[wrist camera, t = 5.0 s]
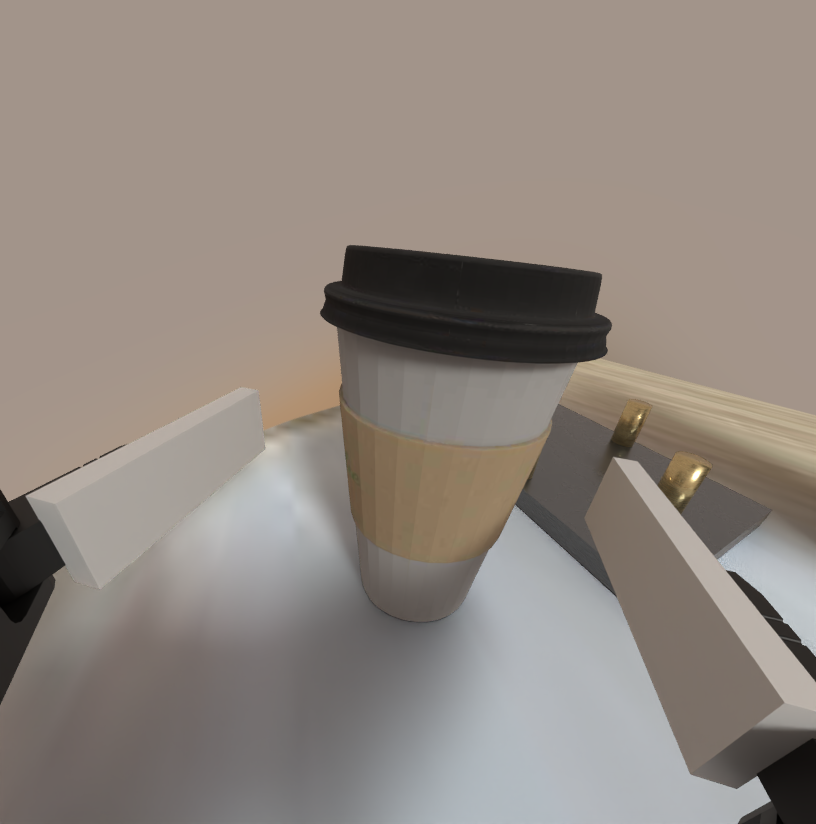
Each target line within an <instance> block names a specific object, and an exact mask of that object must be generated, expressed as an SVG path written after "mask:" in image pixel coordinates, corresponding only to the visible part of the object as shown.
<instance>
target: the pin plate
mask: <svg viewBox="0 0 816 824" xmlns="http://www.w3.org/2000/svg"><path fill="white" fill-rule="evenodd" d="M651 408H652V405H650V404H649V403H647V402H644V401H641V400H636V399H629V400H628V402H627V404H626V406H625V409H624V411H623V413H622V415H621V417H620V420H619V422H618V424H617V426H616V428H615V431H612V430H610V429H608V428H606V427H604V426H602V425H600V424H598V423H596V422H594V421H592V420H590V419H588V418H586V417H584V416H582V415H580V414H578V413H576V412H574V411H572V410H570V409H568V408H566V407H563V406H561V405H559V404H558V405H557V407H556V409H555V412H554V414H553V416H552V418H551V419H552V426H551V431H550V434H549V436H548V438H547V440H546V442H545V444H544V446H543V448H542V450H541V452H540V454H539V456H538V458H537V460H536V462H535V464H534V467H533V469H532V471H531V473H530V475H529V477H528V479H527V481H526V483H525V485H524V487H523V489H522V491H521V493H520V495H519V497H518V499H517V501H516V503H515V504H516V505H517V506H518V507H519V508H520V509H521V510H522V511H524V512H525V513H526V514H527V515H528V516H529V517H530V518H531V519H532V520H533V521H535V522H536V523H537V524H538V525H539V526H540V527H541V528H542V529H543V530H544V531H546V532H547V533H548V534H549V535H550V536H551V537H552V538H553V539H554V540H555V541H557V542H558V543H559V544H560V545H561V546H562V547H563V548H564V549H565V550H566V551H568V552H569V553H570V554H571V555H572V556H573V557H574V558H575V559H576V560H577V561H578V562H580V563H581V564H582V565H583V566H584V567H585V568H586V569H587V570H588V571H589V572H591V573H592V574H593V575H594V576H595V577H596V578H597V579H598V580H599V581H600V582H602V583H603V584H604V585H605V586H606V587H607V588H608V589H609V590H610V591H611V592H613V593H614V594H615V595H616V593H615V591H614V589H613V586H612V584H611V581H610V579H609V576H608V574H607V572H606V569H605V567H604V564H603V562H602V560H601V557H600V555H599V552H598V550H597V547H596V545H595V543H594V540H593V538H592V535H591V533H590V531H589V528H588V526H587V523H586V521H585V518H584V517H585V515H586V513H587V511H588V509H589V507H590V505H591V503H592V500H593V498H594V496H595V494H596V492H597V490H598V488H599V486H600V484H601V481H602V479H603V477H604V475H605V473H606V471H607V469H608V467H609V464H610V462H611V460H612V458H613V457H616V458H622V459H627V460H632V461H638V463H639V464H640V465H641V466H642V467H643V469H644V470H645V471H646V472H647V474H648V475H649V476H650V477H651V479H652V480H653V481H654V482H655V484H656V485H657V486H658V487H659V489H660V490H661V491H662V492H663V493H664V495H665V496H666V497H667V498H668V500H669V501H670V502H671V503H672V505H673V506H674V507H675V508H676V510H677V511H678V512H679V513H680V515H681V516H682V517H683V518H684V519H685V521H686V522H687V523H688V524H689V526H690V527H691V528H692V529H693V531H694V532H695V533H696V534H697V536H698V537H699V538H700V539H701V541H702V542H703V543H704V544H705V545H706V547H707V548H708V549H709V550H710V552H711V553H712V554H713V555H714V557H715V558H716V559H718V558H720V557H721V556H722V555H724V554H725V553H726V552H727V551H729V550H730V549H731V548H732V547H734V546H735V545H736V544H737V543H739V542H740V541H741V540H742V539H744V538H745V537H746V536H747V535H749V534H750V533H751V532H752V531H754V530H755V529H756V528H757V527H759V526H760V525H761V524H762V522H763V521H764V520H765V519H766V517H767V516H768V515H769V514H770V513H771V511H772V510H771V509H769V508H767V507H765V506H763V505H761V504H759V503H757V502H755V501H753V500H751V499H749V498H747V497H745V496H743V495H741V494H739V493H737V492H735V491H733V490H731V489H729V488H727V487H725V486H723V485H721V484H719V483H717V482H715V481H713V480H711V479H709V478H707V477H706V476H707V474H708V473H709V471H710V470H711V468H712V464H711V463H710V462H708V461H707V460H705V459H704V458H702V457H700V456H697V455H695V454H692V453H688V452H683V451H678V452H676V453H675V455H674V457H673V459H672V460H670V459H668V458H666V457H664V456H662V455H660V454H658V453H656V452H654V451H652V450H650V449H648V448H646V447H644V446H642V445H640V444H638V443H636V442H635V441H636V439H637V436H638V434H639V432H640V430H641V428H642V426H643V424H644V422H645V420H646V418H647V416H648V414H649V412H650V410H651Z"/></svg>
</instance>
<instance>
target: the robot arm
mask: <svg viewBox="0 0 816 824" xmlns="http://www.w3.org/2000/svg"><path fill="white" fill-rule="evenodd" d="M264 450H265V440H264V432H263V423H262V416H261V407H260V399H259V391H258V390H254V389H249V388H244V387H240V388H238V389H236V390H234V391H233V392H230V393H228V394H226V395H224V396H222V397H220V398H219V399H216V400H214V401H212V402H211V403H208V404H207V405H205V406H203V407H201V408H199V409H197V410H195V411H193V412H191V413H189V414H187V415H185V416H183V417H181V418H179V419H177V420H175V421H173V422H171V423H169V424H167V425H165V426H163V427H161V428H159V429H157V430H155V431H153V432H151V433H149V434H147V435H145V436H143V437H141V438H139V439H137V440H135V441H133V442H131V443H129V444H127V445H123V446H120V447H118V448H116V449H114V450H112V451H110V452H108V453H106V454H104V455H102V456H100V458H99V459H94V460H92V461H90V462H88V463H86V464H84V465H83V467H78V468H76V469H74V470H72V471H70V472H68V473H66V474H64V475H62V476H60V477H58V478H56V479H54V480H52V481H50V482H48V483H46V484H44V485H42V486H40V487H38V488H36V489H34V490H32V491H30V492H28V493H26V494H24V495H22V496H20V497H18V498H16V499H14V500H11V501H9V502H8V501H7V500H6V498H5V496H4V495H3V493H2V491H1V490H0V704H1V702H2V700H3V698H4V696H5V694H6V691H7V689H8V687H9V685H10V683H11V681H12V678H13V676H14V674H15V672H16V670H17V667H18V665H19V663H20V661H21V659H22V657H23V654H24V652H25V650H26V648H27V646H28V644H29V641H30V639H31V637H32V635H33V633H34V631H35V628H36V626H37V624H38V622H39V620H40V618H41V615H42V613H43V611H44V609H45V607H46V605H47V602H48V600H49V598H50V596H51V594H52V592H53V589H54V586H55V579H54V577H53V575H52V574H54V573H55V572H56V571H58V570H59V569H61V568H62V567H63V566H66V568H67V570H68V572H69V573H70V575H71V577H72V579H73V580H74V582H76V583H80V584H83V585H86V586H89V587H92V588H96V589H99V590H100V589H102V588H103V587H104V586H105V585H106V584H107V583H109V582H110V581H111V580H112V579H113V578H115V577H116V576H117V575H118V574H119V573H120V572H122V571H123V570H124V569H125V568H126V567H127V566H129V565H130V564H131V563H132V562H133V561H134V560H136V559H137V558H138V557H139V556H140V555H142V554H143V553H144V552H145V551H146V550H147V549H149V548H150V547H151V546H152V545H153V544H154V543H156V542H157V541H158V540H159V539H160V538H162V537H163V536H164V535H165V534H166V533H167V532H169V531H170V530H171V529H172V528H173V527H174V526H176V525H177V524H178V523H179V522H180V521H181V520H183V519H184V518H185V517H186V516H187V515H189V514H190V513H191V512H192V511H193V510H194V509H196V508H197V507H198V506H199V505H200V504H201V503H203V502H204V501H205V500H206V499H207V498H209V497H210V496H211V495H212V494H213V493H214V492H216V491H217V490H218V489H219V488H220V487H221V486H223V485H224V484H225V483H226V482H227V481H228V480H230V479H231V478H232V477H233V476H234V475H236V474H237V473H238V472H239V471H240V470H241V469H243V468H244V467H245V466H246V465H247V464H248V463H250V462H251V461H252V460H253V459H254V458H255V457H257V456H258V455H259V454H260V453H261V452H263V451H264ZM584 518H585V521H586V523H587V526H588V528H589V531H590V533H591V535H592V538H593V540H594V543H595V545H596V547H597V550H598V552H599V555H600V557H601V560H602V562H603V564H604V567H605V569H606V572H607V574H608V576H609V579H610V581H611V584H612V586H613V589H614V591H615V593H616V596H617V598H618V601H619V603H620V605H621V608H622V610H623V613H624V615H625V617H626V620H627V622H628V625H629V627H630V630H631V632H632V634H633V637H634V639H635V642H636V644H637V646H638V649H639V651H640V654H641V656H642V659H643V661H644V663H645V666H646V668H647V671H648V673H649V675H650V678H651V680H652V683H653V685H654V688H655V690H656V692H657V695H658V697H659V700H660V702H661V704H662V707H663V709H664V712H665V714H666V717H667V719H668V721H669V724H670V726H671V729H672V731H673V733H674V736H675V738H676V741H677V743H678V745H679V748H680V750H681V753H682V755H683V758H684V760H685V762H686V765H687V767H688V770H689V772H690V774H691V775H694V776H697V777H700V778H704V779H707V780H710V781H713V782H716V783H720V784H723V785H726V786H729V787H732V788H736V789H737V788H739V787H741V786H742V785H744V784H745V783H747V782H749V781H750V780H752V779H753V778H755V777H756V776H758V777H759V779H760V781H761V783H762V785H763V787H764V789H765V790H766V792H767V794H768V796H769V798H770V800H771V802H769V803H767V804H765V805H763V806H762V807H760V808H758V809H756V810H754V811H753V812H751V813H749V814H747V815H745V816H744V817H742V818H741V819H740V821H739V823H738V824H816V657H815V656H814V654H813V653H812V652H811V651H810V650H809V649H808V647H807V646H804V645H802V644H801V639H800V638H799V637H798V636H797V635H796V633H795V632H794V631H793V630H792V629H791V628H790V626H789V625H788V624H785V623H783V618H782V617H781V616H780V615H779V614H778V612H777V611H776V610H775V609H774V608H773V607H772V605H771V604H770V603H769V602H768V601H767V600H766V598H765V597H764V596H763V595H762V594H761V593H760V592H758V591H757V590H756V589H755V588H754V587H752V586H751V585H750V584H749V583H748V582H746V581H745V580H744V579H743V578H742V577H740V576H739V575H738V574H737V573H735V572H732V571H727V570H725V569H724V568H723V567H722V565H721V564H720V563H719V562H718V560H717V559H716V558H715V557H714V555H713V554H712V553H711V552H710V550H709V549H708V548H707V547H706V545H705V544H704V543H703V542H702V541H701V539H700V538H699V537H698V536H697V534H696V533H695V532H694V531H693V529H692V528H691V527H690V526H689V524H688V523H687V522H686V521H685V519H684V518H683V517H682V516H681V515H680V513H679V512H678V511H677V510H676V508H675V507H674V506H673V505H672V503H671V502H670V501H669V500H668V498H667V497H666V496H665V495H664V493H663V492H662V491H661V490H660V489H659V487H658V486H657V485H656V484H655V482H654V481H653V480H652V479H651V477H650V476H649V475H648V474H647V472H646V471H645V470H644V469H643V467H642V466H641V465H640V464H639V463H638V461H632V460H627V459H622V458H616V457H613V458H612V460H611V462H610V464H609V467H608V469H607V471H606V473H605V475H604V477H603V479H602V481H601V484H600V486H599V488H598V490H597V492H596V494H595V496H594V498H593V500H592V503H591V505H590V507H589V509H588V511H587V513H586V515H585V517H584Z"/></svg>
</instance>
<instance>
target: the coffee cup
mask: <svg viewBox="0 0 816 824" xmlns="http://www.w3.org/2000/svg"><path fill="white" fill-rule="evenodd" d="M601 280H602V274H600V273H596V272H590V271H583V270H576V269H568V268H562V267H553V266H546V265H537V264H529V263H521V262H512V261H504V260H494V259H485V258H477V257H469V256H460V255H450V254H440V253H431V252H422V251H412V250H402V249H391V248H381V247H370V246H356V245H349V246H347V248H346V253H345V259H344V267H343V275H342V281H338V282H333V283H330V284H328V285H327V286H326V287H325V288H324V293H325V297H326V300H325V303H324V306H323V309H322V310H321V311H320V314H321V316H322V317H323V318H324V319H325V320H326V321H327V322H329V323H330V324H332V325H334V326H336V327H337V331H338V341H339V353H340V363H341V374H342V384H341V387H340V390H339V397H340V407H341V417H342V427H343V437H344V446H345V456H346V466H347V476H348V485H349V495H350V505H351V513H352V515H353V518H354V521H355V524H356V531H357V541H358V551H359V560H360V570H361V579H362V583H363V586H364V589H365V592H366V593H367V595H368V596H369V598H370V600H371V601H372V602H373V603H374V604H375V605H376V606H377V607H378V608H379V609H380V610H382V611H384V612H385V613H387V614H389V615H391V616H393V617H396V618H399V619H401V620H407V621H412V622H429V621H434V620H439V619H442V618H444V617H446V616H449V615H450V614H451V613H453V612H454V611H455V610H457V609H458V608H459V606H460V605H461V604H462V602H463V601H464V599H465V597H466V595H467V593H468V591H469V589H470V587H471V585H472V583H473V581H474V579H475V577H476V575H477V573H478V571H479V569H480V567H481V564H482V562H483V560H484V558H485V556H486V554H487V552H488V550H489V549H490V548H491V547H492V546H493V545H494V543H495V542H496V541H497V539H498V538H499V536H500V534H501V532H502V530H503V528H504V526H505V524H506V522H507V520H508V518H509V516H510V514H511V512H512V510H513V507H514V505H515V503H516V501H517V499H518V497H519V495H520V493H521V491H522V489H523V487H524V485H525V483H526V481H527V479H528V477H529V475H530V473H531V471H532V469H533V467H534V464H535V462H536V460H537V458H538V456H539V454H540V452H541V450H542V448H543V446H544V444H545V442H546V440H547V438H548V436H549V434H550V431H551V426H552V419H551V418H552V416H553V414H554V412H555V409H556V407H557V405H558V403H559V401H560V399H561V397H562V395H563V393H564V390H565V388H566V386H567V384H568V382H569V380H570V378H571V376H572V374H573V371H574V369H575V367H576V365H577V363H578V362H586V361H591V360H596V359H599V358H601V357H603V356H605V355H606V353H607V351H608V350H607V347H606V336H607V334H608V333H609V331H610V330H611V327H612V324H611V322H610V320H609V319H607V318H606V317H604V316H602V315H599V314H597V313H595V308H596V304H597V300H598V295H599V291H600V286H601Z"/></svg>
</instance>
